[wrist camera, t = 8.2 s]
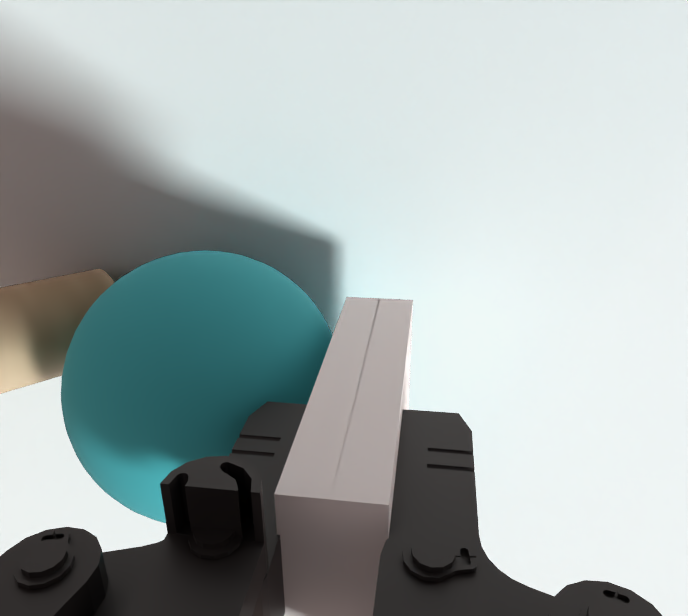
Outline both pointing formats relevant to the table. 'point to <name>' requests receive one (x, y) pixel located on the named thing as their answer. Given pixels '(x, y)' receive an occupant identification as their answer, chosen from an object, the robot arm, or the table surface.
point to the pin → (43, 324)
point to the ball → (183, 367)
